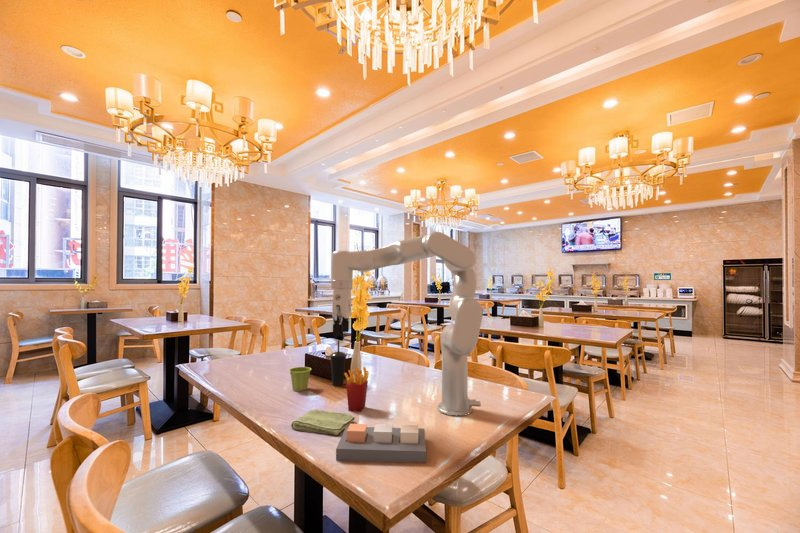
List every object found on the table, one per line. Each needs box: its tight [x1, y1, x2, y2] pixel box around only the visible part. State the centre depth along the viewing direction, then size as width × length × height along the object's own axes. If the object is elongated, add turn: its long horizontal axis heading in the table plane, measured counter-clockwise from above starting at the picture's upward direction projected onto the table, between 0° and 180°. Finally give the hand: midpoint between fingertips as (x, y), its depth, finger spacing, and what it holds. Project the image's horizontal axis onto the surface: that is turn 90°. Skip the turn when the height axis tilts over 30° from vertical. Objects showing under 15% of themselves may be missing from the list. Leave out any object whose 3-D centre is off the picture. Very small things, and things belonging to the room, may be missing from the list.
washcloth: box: [290, 409, 356, 436], centre depth 114 cm, size 13×18×3 cm
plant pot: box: [288, 366, 312, 392], centre depth 151 cm, size 9×9×9 cm
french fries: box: [344, 366, 369, 413], centre depth 130 cm, size 9×8×15 cm
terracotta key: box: [347, 423, 368, 442], centre depth 99 cm, size 5×5×3 cm
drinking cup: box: [329, 340, 348, 387], centre depth 159 cm, size 8×8×20 cm
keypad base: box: [335, 426, 427, 463], centre depth 99 cm, size 24×14×3 cm, turn 88°
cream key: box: [400, 424, 419, 444], centre depth 98 cm, size 5×5×3 cm
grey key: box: [374, 423, 394, 443], centre depth 99 cm, size 5×5×3 cm
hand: (341, 333), depth 122 cm, fingers open, 9 cm apart
